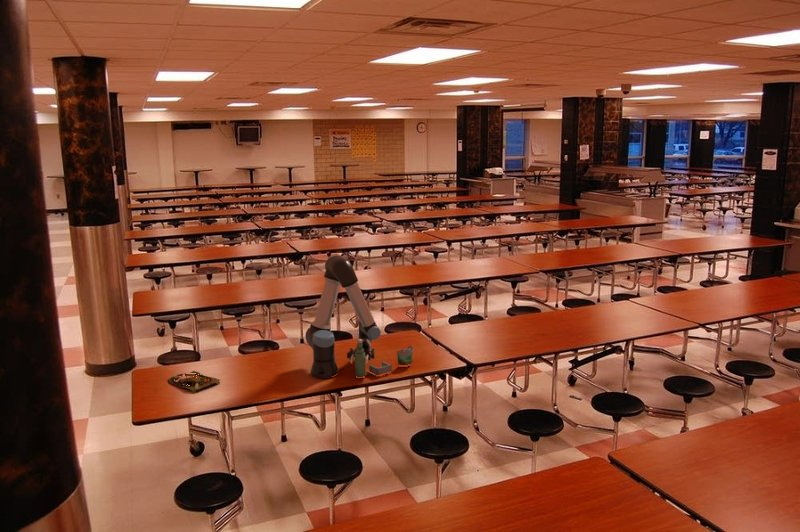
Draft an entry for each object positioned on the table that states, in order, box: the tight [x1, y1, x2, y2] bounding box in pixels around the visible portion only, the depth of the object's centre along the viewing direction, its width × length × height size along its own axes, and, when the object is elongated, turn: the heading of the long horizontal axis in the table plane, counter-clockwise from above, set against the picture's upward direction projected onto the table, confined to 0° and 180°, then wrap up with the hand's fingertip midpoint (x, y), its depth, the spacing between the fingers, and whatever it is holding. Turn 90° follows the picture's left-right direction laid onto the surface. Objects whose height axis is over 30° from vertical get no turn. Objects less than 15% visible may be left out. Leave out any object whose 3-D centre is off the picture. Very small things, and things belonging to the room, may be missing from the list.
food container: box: [396, 345, 415, 366], centre depth 351 cm, size 12×6×10 cm, turn 143°
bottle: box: [354, 338, 366, 377], centre depth 333 cm, size 6×6×21 cm
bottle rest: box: [368, 361, 393, 375], centre depth 341 cm, size 10×10×5 cm
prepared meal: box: [167, 370, 221, 394], centre depth 328 cm, size 28×4×18 cm
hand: (359, 361), depth 328 cm, fingers open, 8 cm apart
